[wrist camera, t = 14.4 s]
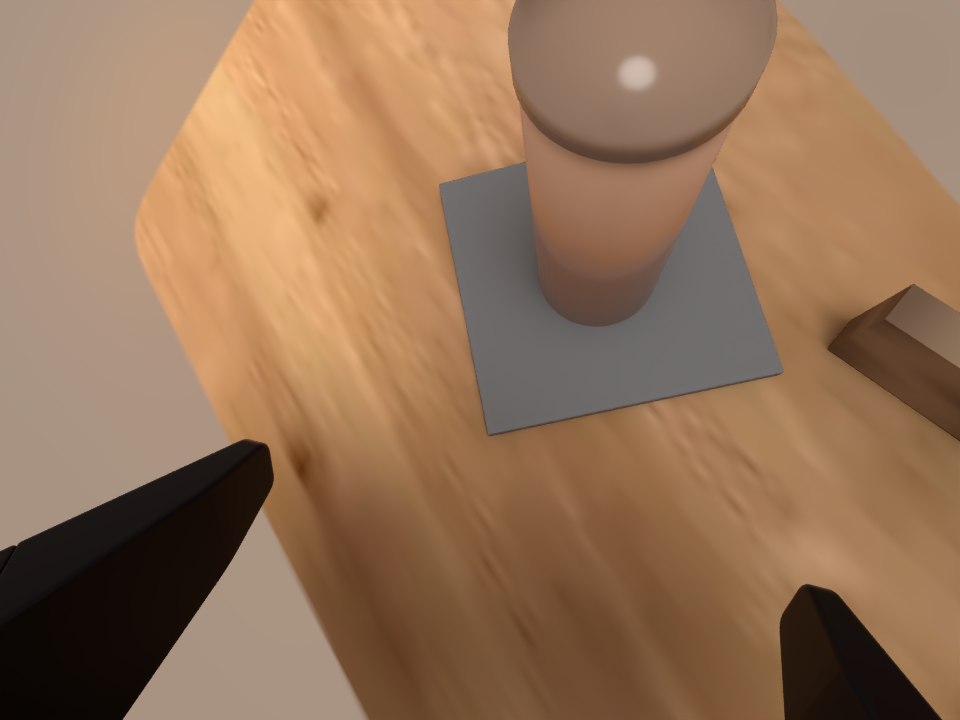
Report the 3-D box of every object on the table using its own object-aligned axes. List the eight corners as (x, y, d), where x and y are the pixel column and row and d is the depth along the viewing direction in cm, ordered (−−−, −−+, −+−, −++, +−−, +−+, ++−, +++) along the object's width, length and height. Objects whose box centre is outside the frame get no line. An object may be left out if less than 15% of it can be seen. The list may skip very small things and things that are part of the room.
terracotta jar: (684, 263, 23) (836, -5, 10) (603, 353, 22) (657, 190, 10) (589, 194, 24) (620, -119, 12) (511, 278, 24) (457, 50, 11)
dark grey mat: (778, 375, 22) (783, 371, 21) (489, 435, 23) (488, 434, 22) (692, 126, 25) (695, 118, 24) (441, 190, 26) (438, 184, 25)
